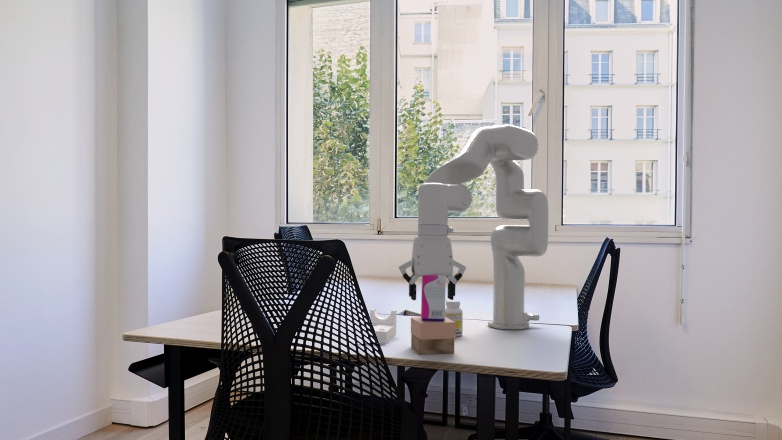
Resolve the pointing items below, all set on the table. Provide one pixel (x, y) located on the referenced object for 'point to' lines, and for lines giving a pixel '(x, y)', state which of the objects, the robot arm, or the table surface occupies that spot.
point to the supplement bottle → (455, 315)
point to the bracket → (384, 326)
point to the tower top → (433, 329)
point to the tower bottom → (432, 346)
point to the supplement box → (433, 298)
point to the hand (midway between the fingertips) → (432, 299)
